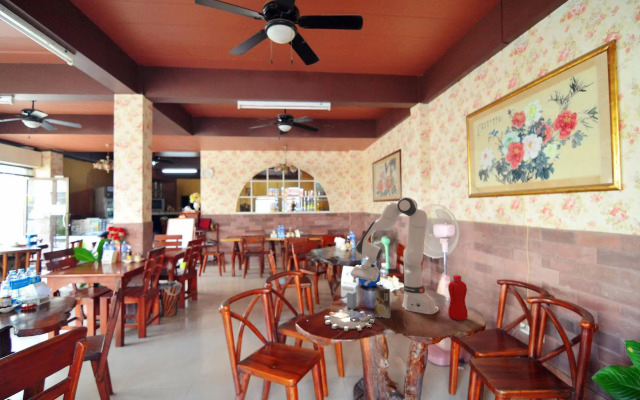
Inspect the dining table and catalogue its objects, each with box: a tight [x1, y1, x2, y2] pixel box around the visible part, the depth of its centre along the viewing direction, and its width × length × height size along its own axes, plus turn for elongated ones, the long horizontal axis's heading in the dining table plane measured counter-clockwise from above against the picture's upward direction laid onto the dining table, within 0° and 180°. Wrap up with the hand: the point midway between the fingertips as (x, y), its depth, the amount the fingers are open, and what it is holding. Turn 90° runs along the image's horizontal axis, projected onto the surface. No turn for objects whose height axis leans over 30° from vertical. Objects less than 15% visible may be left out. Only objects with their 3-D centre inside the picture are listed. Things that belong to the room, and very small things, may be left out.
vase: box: [358, 272, 381, 288], centre depth 251 cm, size 18×18×19 cm
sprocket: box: [324, 308, 375, 332], centre depth 177 cm, size 29×29×2 cm
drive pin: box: [346, 290, 358, 310], centre depth 199 cm, size 4×4×10 cm
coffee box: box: [373, 287, 392, 319], centre depth 184 cm, size 9×6×16 cm
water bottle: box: [447, 274, 469, 322], centre depth 179 cm, size 9×11×25 cm
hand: (359, 283), depth 207 cm, fingers open, 8 cm apart
